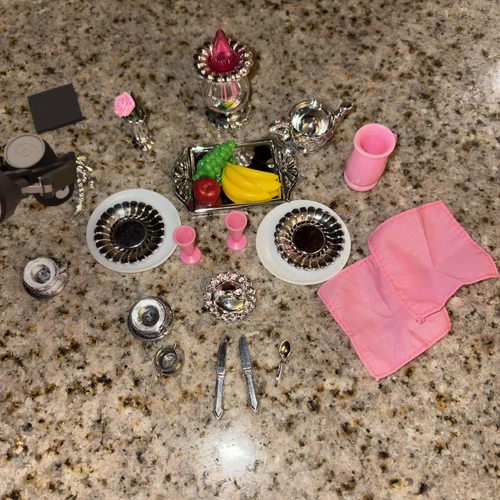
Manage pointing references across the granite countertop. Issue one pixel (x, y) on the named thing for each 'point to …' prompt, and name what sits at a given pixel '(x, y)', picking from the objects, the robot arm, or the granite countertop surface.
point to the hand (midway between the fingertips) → (50, 159)
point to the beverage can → (35, 163)
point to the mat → (54, 108)
